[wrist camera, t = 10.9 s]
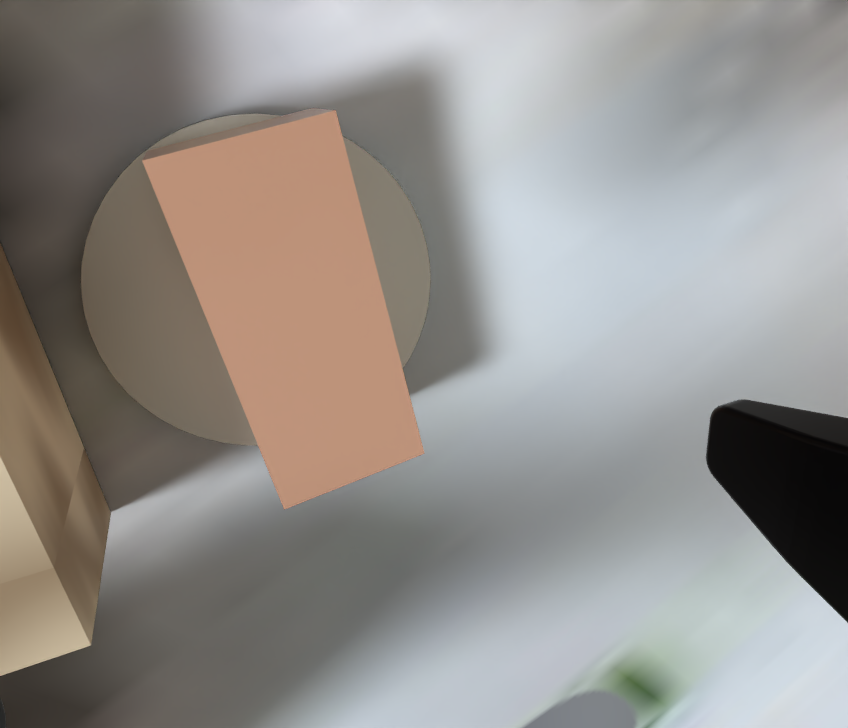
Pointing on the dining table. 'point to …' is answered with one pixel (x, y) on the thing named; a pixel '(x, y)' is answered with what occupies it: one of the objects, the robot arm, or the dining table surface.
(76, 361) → the dining table surface
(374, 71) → the dining table surface
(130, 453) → the dining table surface
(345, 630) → the dining table surface
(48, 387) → the beech pocket board
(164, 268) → the felt coaster
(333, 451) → the terracotta block
